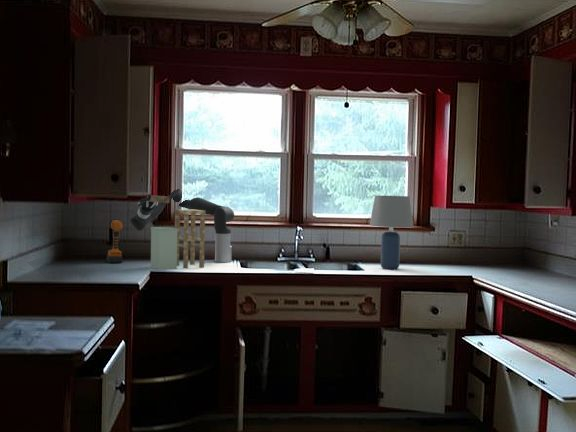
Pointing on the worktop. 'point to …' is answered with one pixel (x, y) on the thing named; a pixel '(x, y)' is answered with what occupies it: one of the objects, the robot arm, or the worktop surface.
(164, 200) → the tan cardboard block
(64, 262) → the worktop surface
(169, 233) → the pale green block
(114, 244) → the power drill
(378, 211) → the lamp
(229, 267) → the worktop surface
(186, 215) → the stool
